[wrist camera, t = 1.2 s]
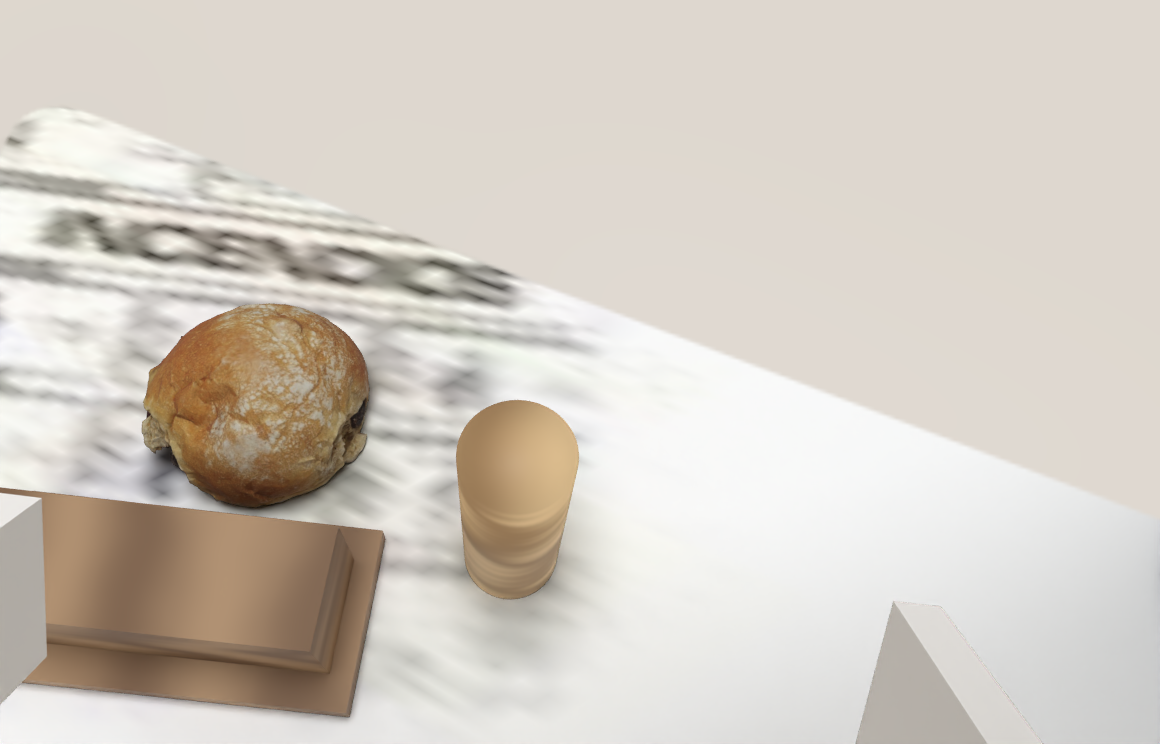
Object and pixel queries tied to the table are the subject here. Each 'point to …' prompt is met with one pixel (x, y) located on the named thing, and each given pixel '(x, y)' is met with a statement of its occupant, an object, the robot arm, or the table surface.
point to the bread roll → (259, 403)
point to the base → (204, 604)
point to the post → (514, 495)
